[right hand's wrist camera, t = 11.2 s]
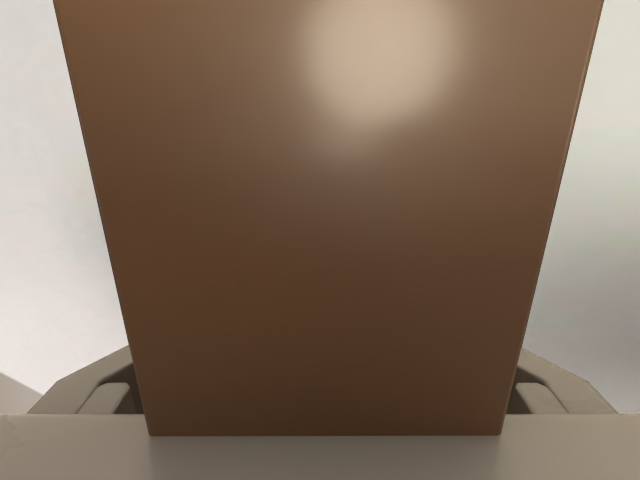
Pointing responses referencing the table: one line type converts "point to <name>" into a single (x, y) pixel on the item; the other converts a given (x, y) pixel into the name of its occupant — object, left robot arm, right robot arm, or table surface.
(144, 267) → the bar
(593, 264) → the table surface
